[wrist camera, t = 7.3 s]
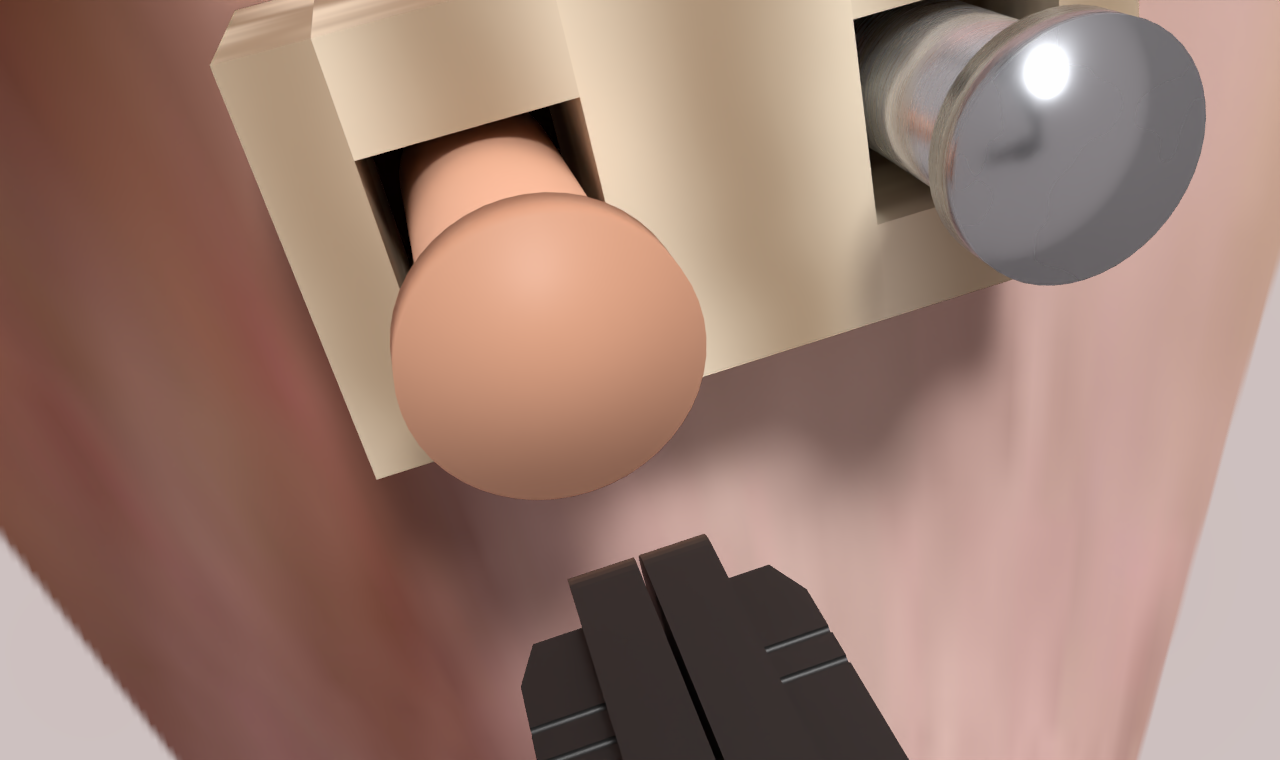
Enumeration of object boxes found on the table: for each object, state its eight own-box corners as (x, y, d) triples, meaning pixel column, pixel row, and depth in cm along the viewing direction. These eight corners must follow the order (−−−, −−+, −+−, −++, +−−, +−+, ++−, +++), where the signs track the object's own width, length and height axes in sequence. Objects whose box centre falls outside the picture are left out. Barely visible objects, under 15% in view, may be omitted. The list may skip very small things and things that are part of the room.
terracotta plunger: (410, 299, 27) (448, 537, 18) (341, 103, 24) (346, 269, 16) (604, 241, 27) (730, 446, 19) (554, 43, 25) (673, 173, 16)
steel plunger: (777, 164, 29) (965, 317, 21) (747, -25, 27) (944, 57, 18) (948, 114, 30) (1201, 242, 21) (933, -77, 27) (1210, -20, 19)
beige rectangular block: (368, 359, 29) (376, 479, 24) (235, 10, 25) (209, 65, 20) (1004, 166, 31) (1137, 240, 26) (983, -190, 27) (1139, -187, 22)
